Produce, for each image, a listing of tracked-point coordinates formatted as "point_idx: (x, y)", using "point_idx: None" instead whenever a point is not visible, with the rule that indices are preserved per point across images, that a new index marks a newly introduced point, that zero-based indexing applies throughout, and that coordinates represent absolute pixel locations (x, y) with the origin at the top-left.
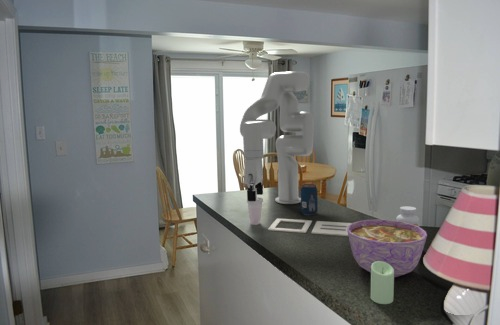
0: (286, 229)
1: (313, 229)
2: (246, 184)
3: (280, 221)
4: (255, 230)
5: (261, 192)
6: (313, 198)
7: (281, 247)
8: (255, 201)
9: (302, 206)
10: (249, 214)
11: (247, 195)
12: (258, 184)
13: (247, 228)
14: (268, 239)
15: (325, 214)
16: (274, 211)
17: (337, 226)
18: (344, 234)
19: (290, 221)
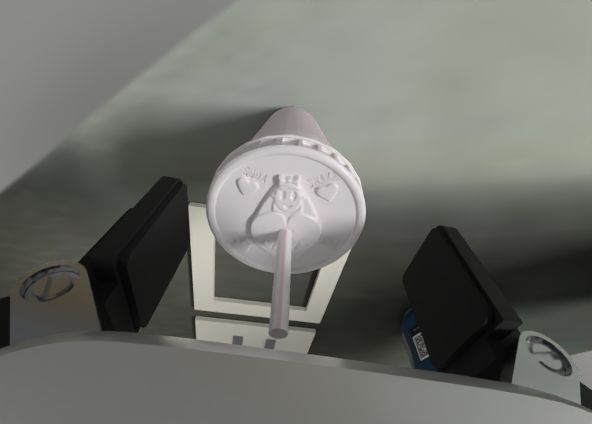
0: (201, 265)
1: (222, 324)
2: (79, 345)
3: None
4: (170, 148)
5: (411, 290)
6: None
7: (20, 252)
8: (213, 231)
9: None
10: (271, 121)
11: (133, 211)
12: (472, 359)
13: (191, 99)
14: (74, 211)
15: (402, 346)
16: (511, 210)
17: None
18: None
19: (318, 272)
